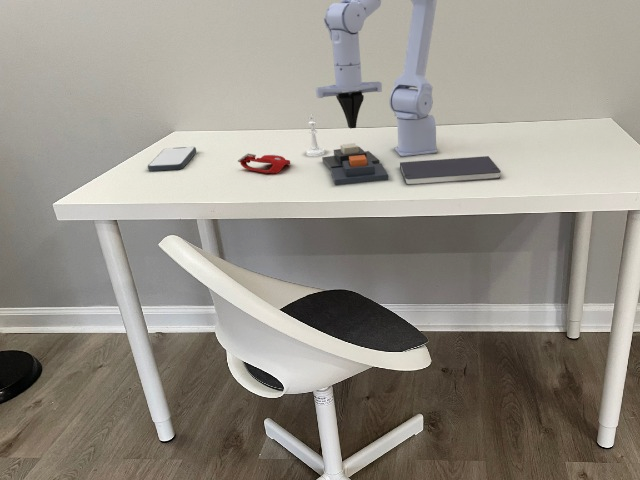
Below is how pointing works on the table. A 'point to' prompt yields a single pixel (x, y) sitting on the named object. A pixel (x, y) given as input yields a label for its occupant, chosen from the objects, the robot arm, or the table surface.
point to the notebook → (449, 170)
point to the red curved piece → (273, 159)
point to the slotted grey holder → (358, 173)
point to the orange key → (357, 160)
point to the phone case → (172, 159)
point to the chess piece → (314, 140)
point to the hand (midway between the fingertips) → (352, 127)
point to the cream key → (349, 148)
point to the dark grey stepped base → (345, 158)
